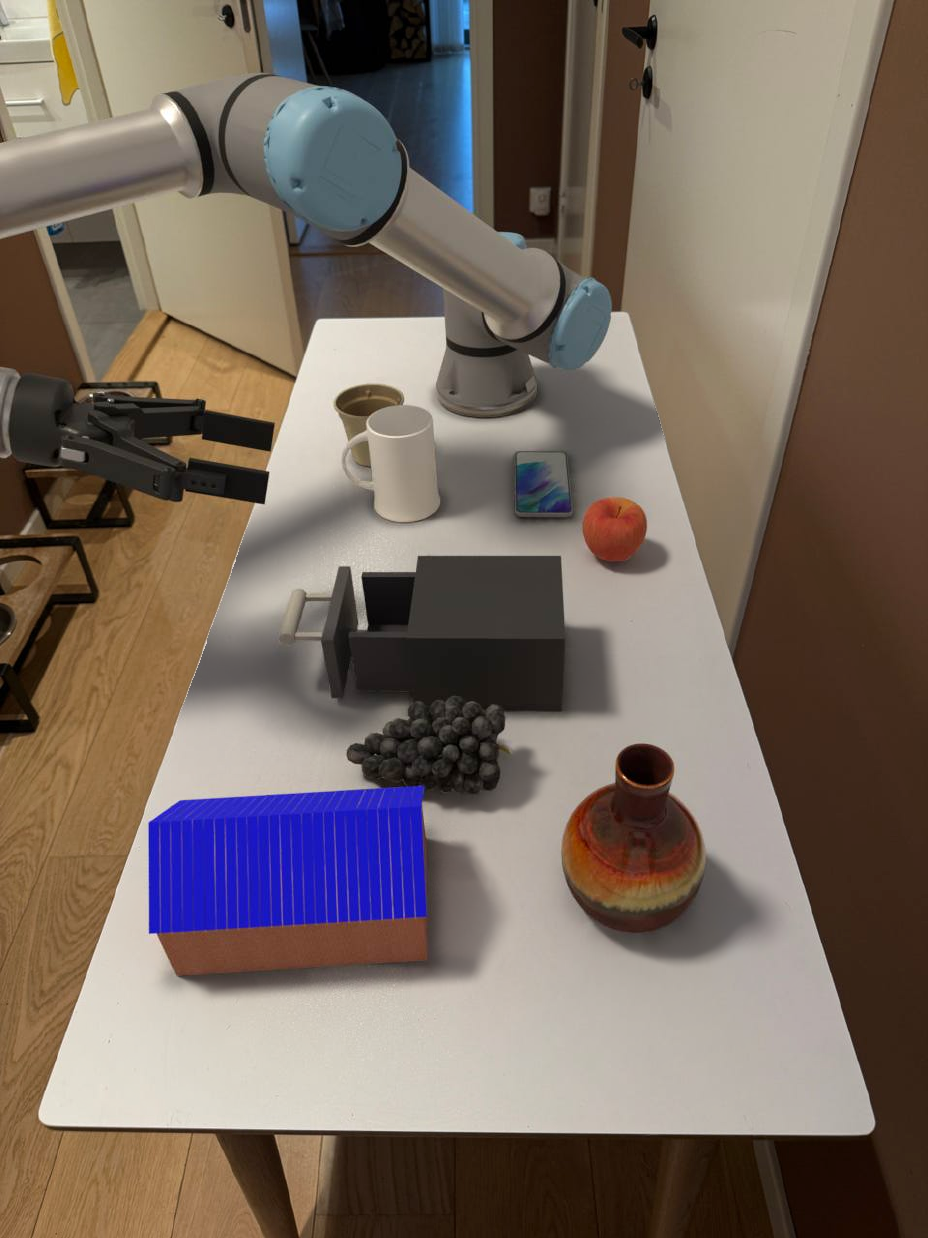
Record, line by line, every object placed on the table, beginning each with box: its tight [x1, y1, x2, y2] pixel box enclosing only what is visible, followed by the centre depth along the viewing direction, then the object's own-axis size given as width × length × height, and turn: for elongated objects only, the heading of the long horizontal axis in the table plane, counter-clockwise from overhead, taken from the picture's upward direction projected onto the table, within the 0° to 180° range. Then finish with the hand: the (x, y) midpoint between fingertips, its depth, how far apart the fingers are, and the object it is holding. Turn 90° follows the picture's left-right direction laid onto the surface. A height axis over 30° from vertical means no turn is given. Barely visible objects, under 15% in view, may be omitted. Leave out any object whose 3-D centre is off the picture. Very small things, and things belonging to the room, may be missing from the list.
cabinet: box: [406, 555, 566, 712], centre depth 92 cm, size 15×13×10 cm
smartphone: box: [513, 450, 574, 518], centre depth 121 cm, size 7×1×15 cm
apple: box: [581, 496, 648, 562], centre depth 107 cm, size 7×7×8 cm
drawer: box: [278, 565, 416, 699], centre depth 93 cm, size 18×11×8 cm, turn 87°
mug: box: [341, 404, 441, 523], centre depth 115 cm, size 12×8×12 cm
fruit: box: [345, 696, 512, 795], centre depth 83 cm, size 9×8×15 cm
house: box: [147, 785, 429, 977], centre depth 71 cm, size 12×20×12 cm, turn 93°
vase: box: [560, 742, 707, 934], centre depth 70 cm, size 11×11×15 cm
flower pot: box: [333, 382, 405, 468], centre depth 126 cm, size 9×9×9 cm
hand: (270, 460), depth 83 cm, fingers open, 13 cm apart
